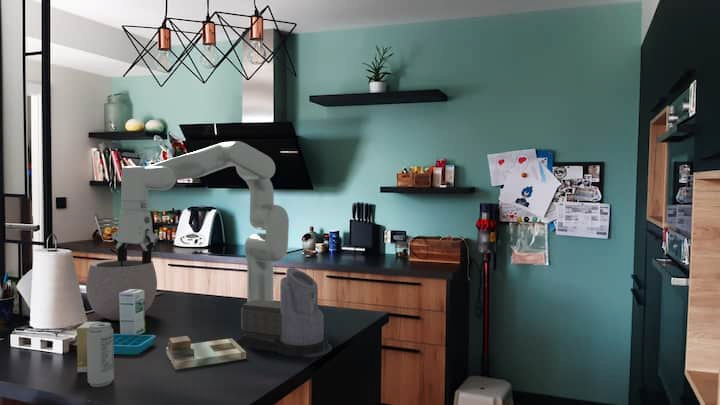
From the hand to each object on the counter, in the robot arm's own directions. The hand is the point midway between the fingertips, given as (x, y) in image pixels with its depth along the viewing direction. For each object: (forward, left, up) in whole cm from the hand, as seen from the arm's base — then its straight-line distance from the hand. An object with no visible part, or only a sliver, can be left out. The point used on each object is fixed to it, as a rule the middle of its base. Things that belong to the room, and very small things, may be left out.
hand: (134, 262), depth 168 cm
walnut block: (-10, +20, -24) cm, 33 cm away
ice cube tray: (+5, 0, -27) cm, 27 cm away
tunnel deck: (-17, +20, -26) cm, 37 cm away
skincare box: (+13, +15, -26) cm, 33 cm away
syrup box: (-1, -15, -26) cm, 30 cm away
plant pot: (0, -37, -26) cm, 46 cm away
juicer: (-41, +21, -26) cm, 53 cm away
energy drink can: (+11, +29, -26) cm, 40 cm away
